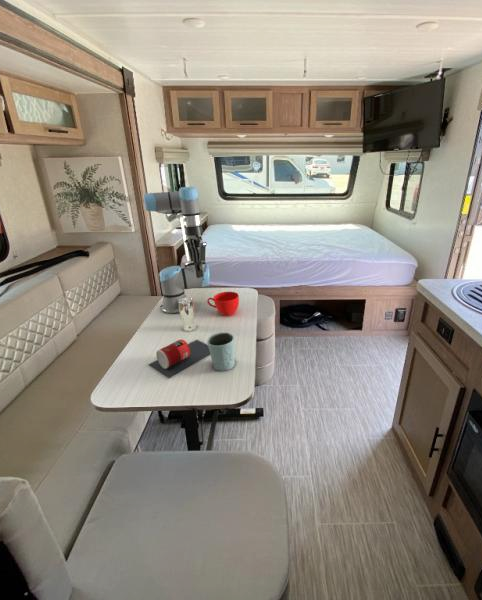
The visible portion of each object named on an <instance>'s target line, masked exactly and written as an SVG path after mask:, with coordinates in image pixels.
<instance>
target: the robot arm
mask: <svg viewBox="0 0 482 600" xmlns="http://www.w3.org/2000/svg"><path fill="white" fill-rule="evenodd" d="M142 197H143V205H144V208H145V211H147V212H156V213H158V214H163V215H175V216H176V218H177V219H178V220H179V223H180V229H181V230H180V231H181V235H182V241H183V247H184V253H185V259H186V261H185V263H184V265H183V266H184V267H181V266H180V265H171V266H167V267H165V268H163V269H161V270H160V271H159V282H160V286H161V292H162V304H161V305H160V308H161V311H162V312H163V313H165V314H180V311H179V302H178V301H179V300H180V299H182V298H188V297H187V295H186V293H185V290H189V289H190V290H191V289H197V288H203V287H208V286H209V285H210V281H211V280H210V278H211V277H210V275H211V273H210V265H209V264H207V263H206V247H207V242H206V241H204V240H203V236H202V234H203V233H204V232H203V226H202V215H201V210H200V201H199V193H198V189H197V187H196V186H184V187H179V189H178V190H177V191H166V192H165V191H164V192H162V191H161V192H149V193H144V194H143V196H142Z"/></svg>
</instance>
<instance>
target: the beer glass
mask: <svg viewBox="0 0 482 600" xmlns="http://www.w3.org/2000/svg"><path fill="white" fill-rule="evenodd" d="M178 302H179V311H180V312H179V314H180V317H181V320H182V323H183V327H182V328H183V330H184V331H185V332H190V331H194V330H195V329H196V328H197V325H196V322H195V304H194V301H193V298H192V297H187V298H182V299H180V300H179V301H178Z"/></svg>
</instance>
